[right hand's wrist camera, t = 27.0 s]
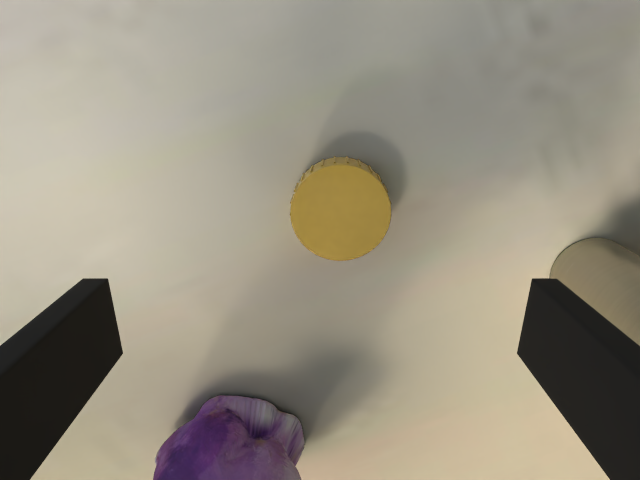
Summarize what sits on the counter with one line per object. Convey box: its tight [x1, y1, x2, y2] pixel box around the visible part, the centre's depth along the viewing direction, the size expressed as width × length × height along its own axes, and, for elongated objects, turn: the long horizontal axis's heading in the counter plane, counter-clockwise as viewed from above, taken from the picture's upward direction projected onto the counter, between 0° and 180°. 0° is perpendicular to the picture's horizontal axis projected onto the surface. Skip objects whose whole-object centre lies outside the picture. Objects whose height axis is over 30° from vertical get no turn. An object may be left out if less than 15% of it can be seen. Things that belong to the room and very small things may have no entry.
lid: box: [290, 156, 391, 261], centre depth 24 cm, size 6×6×2 cm
